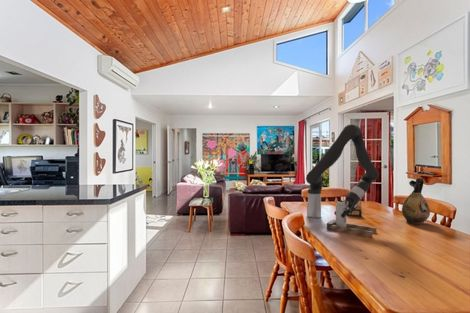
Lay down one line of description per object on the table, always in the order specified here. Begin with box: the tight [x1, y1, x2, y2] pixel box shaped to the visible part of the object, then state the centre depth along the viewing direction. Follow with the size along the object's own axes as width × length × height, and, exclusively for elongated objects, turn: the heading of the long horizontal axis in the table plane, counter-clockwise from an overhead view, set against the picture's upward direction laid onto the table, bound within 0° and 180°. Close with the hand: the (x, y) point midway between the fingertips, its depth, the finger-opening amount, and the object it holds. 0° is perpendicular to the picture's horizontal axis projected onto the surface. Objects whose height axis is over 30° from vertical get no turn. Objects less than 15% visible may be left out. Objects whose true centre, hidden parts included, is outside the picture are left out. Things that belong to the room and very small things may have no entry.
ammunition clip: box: [346, 199, 363, 218], centre depth 196 cm, size 11×2×12 cm, turn 65°
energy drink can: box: [335, 201, 347, 227], centre depth 161 cm, size 6×6×15 cm
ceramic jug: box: [401, 177, 431, 225], centre depth 175 cm, size 17×15×30 cm
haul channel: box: [326, 218, 378, 238], centre depth 157 cm, size 25×12×4 cm, turn 50°
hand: (338, 215), depth 160 cm, fingers closed on energy drink can, 6 cm apart
